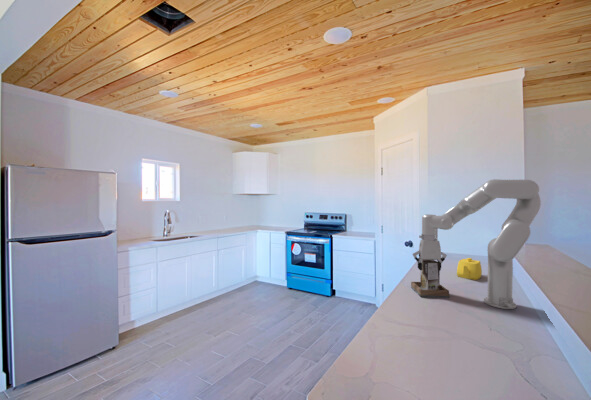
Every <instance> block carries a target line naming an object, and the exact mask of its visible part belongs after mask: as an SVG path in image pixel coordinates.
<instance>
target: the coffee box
mask: <svg viewBox="0 0 591 400" xmlns="http://www.w3.org/2000/svg"><path fill="white" fill-rule="evenodd" d="M421 263H422V270H420V282H421V289H423V290H439V285H441V284H440V273H441V270H440V263H439V262H438V261H437V260H424V259H423V260H422V261H421Z"/></svg>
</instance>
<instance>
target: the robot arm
mask: <svg viewBox="0 0 591 400" xmlns="http://www.w3.org/2000/svg"><path fill="white" fill-rule="evenodd" d="M539 192H540V187H539V185H538V183H537V182H536V181H533V180H531V179H489V180H488V181H486V182H484V183H483V184H481V185H480V186H479V187H477V188H476V189H475V190H473V191H472V192H470V193H469V194H467V196H465V197H463V199H461V200H460V201H459V202H458V203H457V204H455V206H453V207H451V208H450V209H449V210H448V211H446V212H444V213H443V214H442V215H436V214H423V215H422V216H421V235H419V236H418V237H419V238H420V241H419V246H418V250H417V251H415V252H413V253H412V256H413V258H414V260H415V261H416V262H417V268H418V270H422V263H421V261H422V260H423V259H424V260H435V261H437V262H439V263H440V271H441V269H442V263H443V262H444V261H445V260H446V258H447V256H448V255H447V254H446V253H444V252H442V251H441V250H442V249H441V244H440V240H439V239H438V232H439V230H443V231H447V230H448V231H449V230H451V229H452V228H453V227H454V226H455V225H456V224H458V223H459V222H460V221H462V220H463V219H464V218H466V217H469V216H470V215H472V214H475V213H476V212H478V211H480V210H482V208H484V207H486V206H487V205H488V204H490V203H491V202H493V201H494V200H496V199H509V200H510V199H512V200H513V199H514V200H515V199H516V202H515V205H514V207H513V208H512V211H511V212H510V213H509V215H508V216H507V218H506V219H505V220H504V222H503V223H502V224H501V231H500V232H499V233H498V235H497V237H495V238H493V239H491V240H490V241H489V242H488V244H487V296H486V297H484V298H483V302H484V303H485V304H486V305H488V306H489V307H490V306H491V307H493V308H498V309H502V310H503V309H504V310H513V309H516V308H517V303H515V302H514V298H513V277H514V275H513V271H514V270H513V269H514V267H513V266H514V265H513V264H514V263H513V261H514V260H513V259H515V258H516V256H517V255H518V254H519V252H520V251H521V249H522V248H523V247H524V245H525V244H526V242H527V241H528V239H529V238H530V236H531V227H530V226H531V224H532V223H533V221H534V220H535V218H536V217H537V215H538V214H539V212H540V208H541V205H542V204H541V203H542V201H541V197H540V195H539Z"/></svg>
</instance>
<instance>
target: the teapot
mask: <svg viewBox="0 0 591 400" xmlns="http://www.w3.org/2000/svg"><path fill="white" fill-rule="evenodd" d="M482 275H483V272H482V264H481V260H474V259H473V258H472V257H467V258H462V259H460V260H458V263H457V268H456V276H457V277H458V278H461V279H466V280H472V281H477V280H479V279H481V278H482Z"/></svg>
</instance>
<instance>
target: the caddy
mask: <svg viewBox="0 0 591 400" xmlns="http://www.w3.org/2000/svg"><path fill="white" fill-rule="evenodd" d="M410 288H411V289H412V291H414V292H415V293H416V294H417V295H418V296H419V297H420V298H443V299H444V298H448V299H449V298H450V290H449V289H447V288H446V287H444V285H442V284H440V285H439V290H423V289H421V281H411V282H410Z"/></svg>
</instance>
